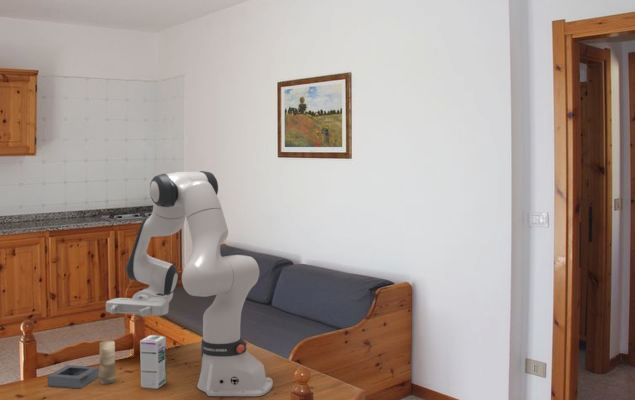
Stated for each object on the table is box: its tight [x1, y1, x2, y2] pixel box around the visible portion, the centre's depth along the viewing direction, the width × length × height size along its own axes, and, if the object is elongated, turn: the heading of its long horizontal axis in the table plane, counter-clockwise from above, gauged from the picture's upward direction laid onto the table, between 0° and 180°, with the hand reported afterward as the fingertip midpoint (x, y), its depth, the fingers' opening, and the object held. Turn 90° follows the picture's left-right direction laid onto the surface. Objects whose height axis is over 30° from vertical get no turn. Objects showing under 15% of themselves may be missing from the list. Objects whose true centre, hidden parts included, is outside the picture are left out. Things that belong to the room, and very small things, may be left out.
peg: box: [99, 340, 116, 385], centre depth 191 cm, size 4×4×12 cm
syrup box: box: [139, 334, 168, 390], centre depth 189 cm, size 6×6×14 cm
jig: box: [47, 364, 100, 390], centre depth 191 cm, size 11×11×3 cm
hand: (125, 312), depth 203 cm, fingers open, 8 cm apart
